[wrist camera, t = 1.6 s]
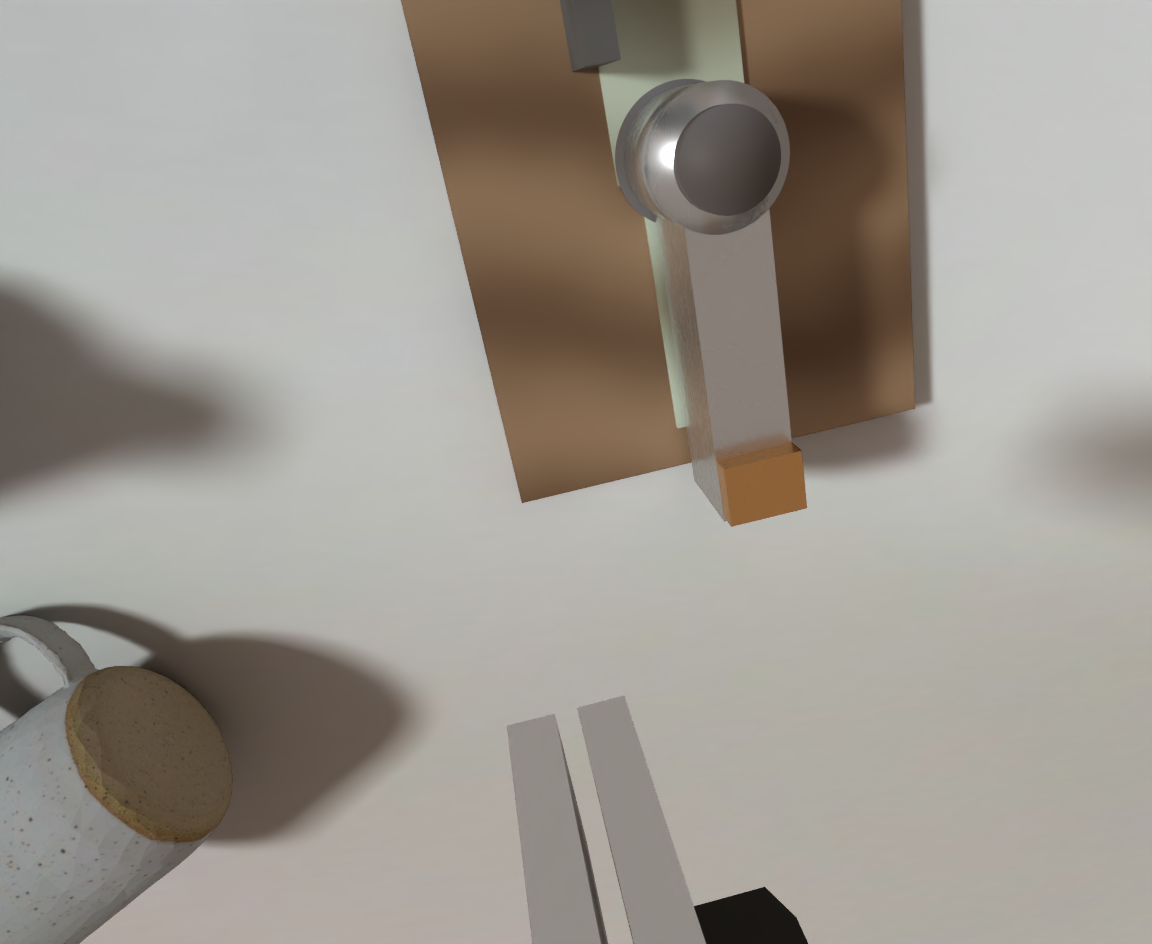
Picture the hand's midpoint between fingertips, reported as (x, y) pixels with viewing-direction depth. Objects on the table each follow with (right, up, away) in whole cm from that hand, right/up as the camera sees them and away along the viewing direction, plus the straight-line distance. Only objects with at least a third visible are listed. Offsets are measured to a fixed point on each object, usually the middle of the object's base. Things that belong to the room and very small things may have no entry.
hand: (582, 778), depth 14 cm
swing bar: (+4, +11, +15) cm, 19 cm away
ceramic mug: (-19, -4, +19) cm, 27 cm away
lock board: (+3, +17, +14) cm, 22 cm away
